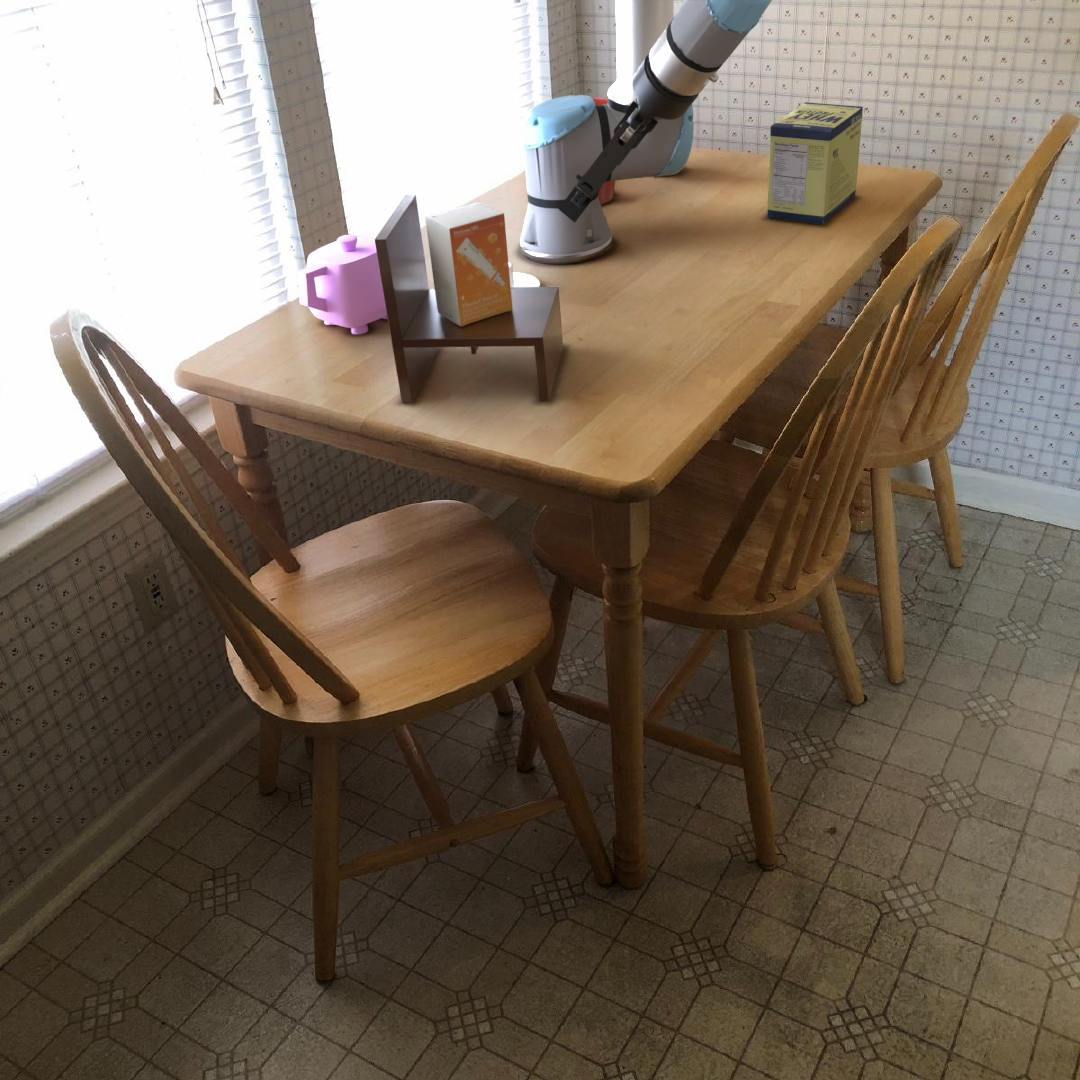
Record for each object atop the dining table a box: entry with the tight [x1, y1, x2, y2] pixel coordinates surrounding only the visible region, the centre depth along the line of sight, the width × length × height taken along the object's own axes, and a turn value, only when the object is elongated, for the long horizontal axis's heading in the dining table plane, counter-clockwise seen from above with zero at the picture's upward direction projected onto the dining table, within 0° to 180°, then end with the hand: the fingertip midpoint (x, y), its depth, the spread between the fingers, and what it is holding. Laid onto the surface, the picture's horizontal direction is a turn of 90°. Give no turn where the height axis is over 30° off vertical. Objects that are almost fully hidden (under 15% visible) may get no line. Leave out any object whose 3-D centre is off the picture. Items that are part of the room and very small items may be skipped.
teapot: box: [297, 234, 388, 335], centre depth 166 cm, size 20×12×13 cm, turn 139°
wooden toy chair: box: [374, 194, 564, 403], centre depth 145 cm, size 16×19×22 cm
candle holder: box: [508, 261, 541, 288], centre depth 173 cm, size 12×12×4 cm
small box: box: [424, 201, 512, 327], centre depth 142 cm, size 8×6×13 cm
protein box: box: [766, 101, 864, 226], centre depth 189 cm, size 10×16×16 cm
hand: (590, 185), depth 147 cm, fingers open, 13 cm apart
